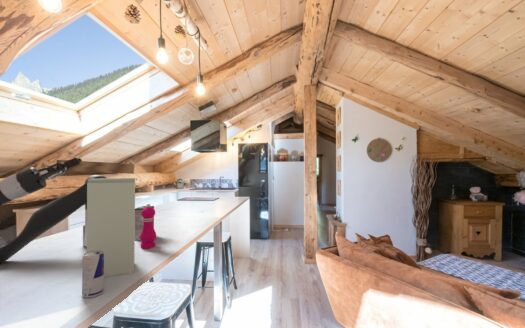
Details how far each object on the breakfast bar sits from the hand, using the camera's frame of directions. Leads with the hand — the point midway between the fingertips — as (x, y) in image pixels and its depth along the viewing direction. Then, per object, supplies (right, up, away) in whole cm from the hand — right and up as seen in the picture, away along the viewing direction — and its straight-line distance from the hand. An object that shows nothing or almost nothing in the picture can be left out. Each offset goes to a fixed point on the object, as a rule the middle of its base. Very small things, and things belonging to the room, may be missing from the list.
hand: (79, 160), depth 90 cm
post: (+9, -40, +4) cm, 41 cm away
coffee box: (+1, -40, +46) cm, 61 cm away
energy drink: (+13, -40, -13) cm, 44 cm away
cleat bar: (+5, -4, +2) cm, 7 cm away
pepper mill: (+10, -40, +31) cm, 52 cm away
